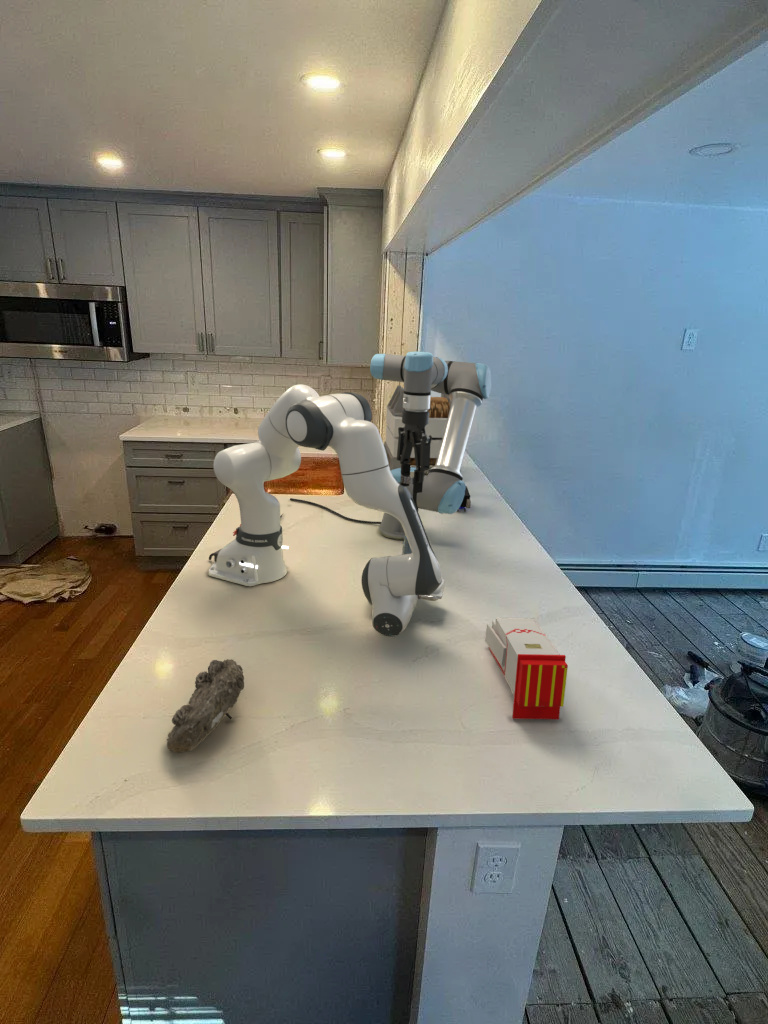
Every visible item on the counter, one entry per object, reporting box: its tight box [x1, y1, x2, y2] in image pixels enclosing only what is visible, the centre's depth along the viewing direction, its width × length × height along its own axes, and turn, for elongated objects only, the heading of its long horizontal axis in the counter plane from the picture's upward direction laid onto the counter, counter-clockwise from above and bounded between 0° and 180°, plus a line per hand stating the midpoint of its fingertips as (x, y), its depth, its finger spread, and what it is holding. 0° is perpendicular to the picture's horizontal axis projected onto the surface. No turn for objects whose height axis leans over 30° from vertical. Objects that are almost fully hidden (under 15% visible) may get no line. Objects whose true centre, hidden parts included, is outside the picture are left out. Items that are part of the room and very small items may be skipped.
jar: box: [401, 536, 412, 555], centre depth 155 cm, size 5×5×17 cm
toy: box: [484, 617, 569, 720], centre depth 122 cm, size 12×13×30 cm
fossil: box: [166, 658, 245, 754], centre depth 106 cm, size 22×10×15 cm
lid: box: [401, 472, 414, 484], centre depth 164 cm, size 6×6×2 cm
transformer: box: [383, 384, 462, 474], centre depth 268 cm, size 34×33×41 cm
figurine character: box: [456, 485, 472, 513], centre depth 228 cm, size 7×8×15 cm
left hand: (410, 571), depth 157 cm, fingers closed on jar, 5 cm apart
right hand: (411, 489), depth 165 cm, fingers closed on lid, 6 cm apart
